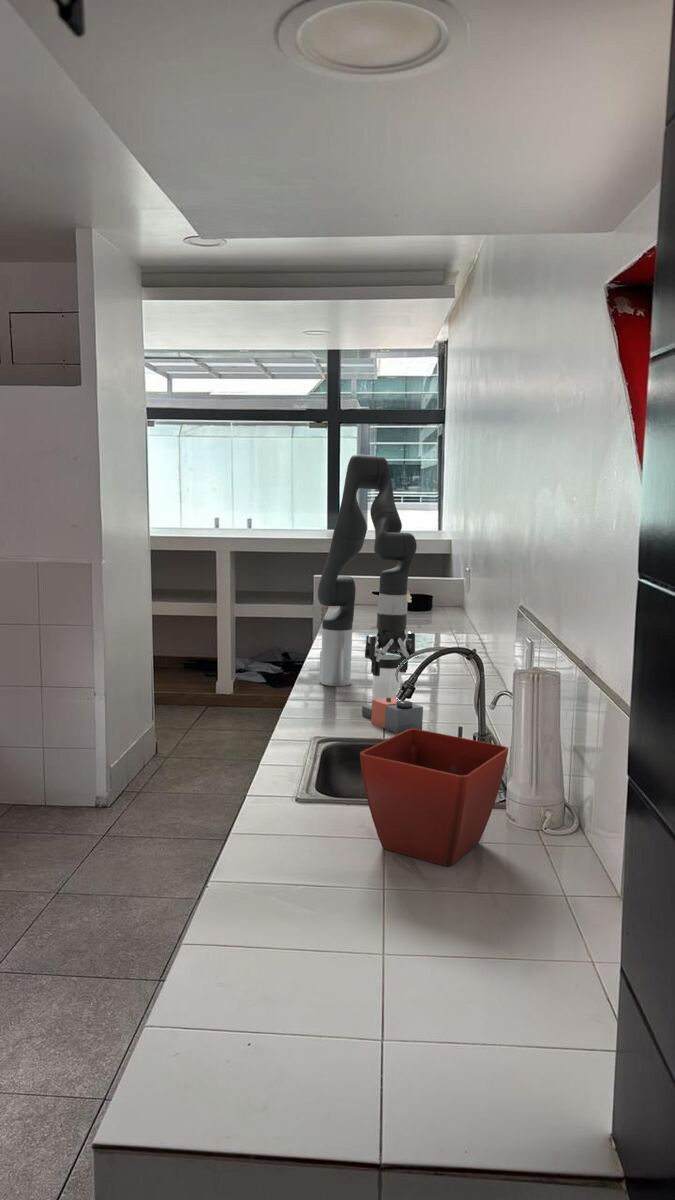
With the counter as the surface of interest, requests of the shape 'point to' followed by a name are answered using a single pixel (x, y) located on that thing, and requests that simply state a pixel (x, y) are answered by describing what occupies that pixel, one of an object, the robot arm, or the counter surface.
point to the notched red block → (381, 709)
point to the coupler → (399, 716)
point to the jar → (387, 678)
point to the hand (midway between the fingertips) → (389, 673)
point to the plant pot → (431, 792)
